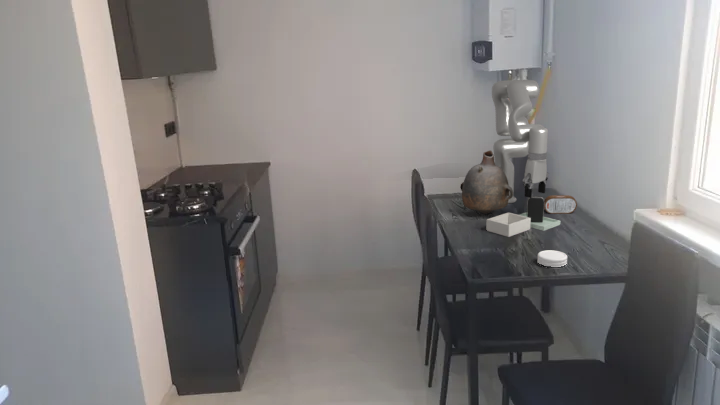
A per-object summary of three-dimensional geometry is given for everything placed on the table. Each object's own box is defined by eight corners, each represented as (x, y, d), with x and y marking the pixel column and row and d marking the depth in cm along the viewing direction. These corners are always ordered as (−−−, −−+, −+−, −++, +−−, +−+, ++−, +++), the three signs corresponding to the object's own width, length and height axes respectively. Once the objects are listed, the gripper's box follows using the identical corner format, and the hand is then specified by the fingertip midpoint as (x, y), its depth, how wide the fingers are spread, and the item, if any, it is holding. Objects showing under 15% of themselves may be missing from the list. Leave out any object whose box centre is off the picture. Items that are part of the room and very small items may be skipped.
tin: (575, 212, 250) (576, 194, 247) (577, 214, 247) (578, 196, 244) (542, 212, 251) (543, 195, 249) (543, 214, 248) (544, 196, 246)
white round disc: (543, 269, 186) (543, 260, 185) (533, 259, 196) (533, 250, 195) (571, 268, 186) (572, 258, 186) (560, 258, 196) (560, 249, 195)
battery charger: (542, 220, 237) (543, 195, 234) (543, 222, 234) (544, 197, 231) (526, 220, 239) (527, 195, 236) (526, 222, 235) (527, 197, 232)
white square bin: (486, 230, 229) (486, 219, 228) (507, 223, 237) (508, 212, 236) (508, 236, 220) (509, 225, 219) (530, 229, 228) (530, 217, 227)
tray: (508, 221, 239) (508, 217, 239) (525, 216, 246) (525, 212, 246) (543, 230, 226) (544, 226, 225) (560, 224, 233) (560, 220, 232)
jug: (456, 219, 246) (457, 155, 238) (461, 207, 265) (461, 147, 258) (512, 221, 239) (514, 155, 231) (512, 208, 259) (514, 147, 251)
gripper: (541, 152, 236) (539, 189, 241) (517, 158, 226) (515, 197, 231) (556, 154, 230) (554, 192, 235) (532, 160, 220) (530, 200, 225)
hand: (534, 194), depth 233 cm, fingers open, 9 cm apart
